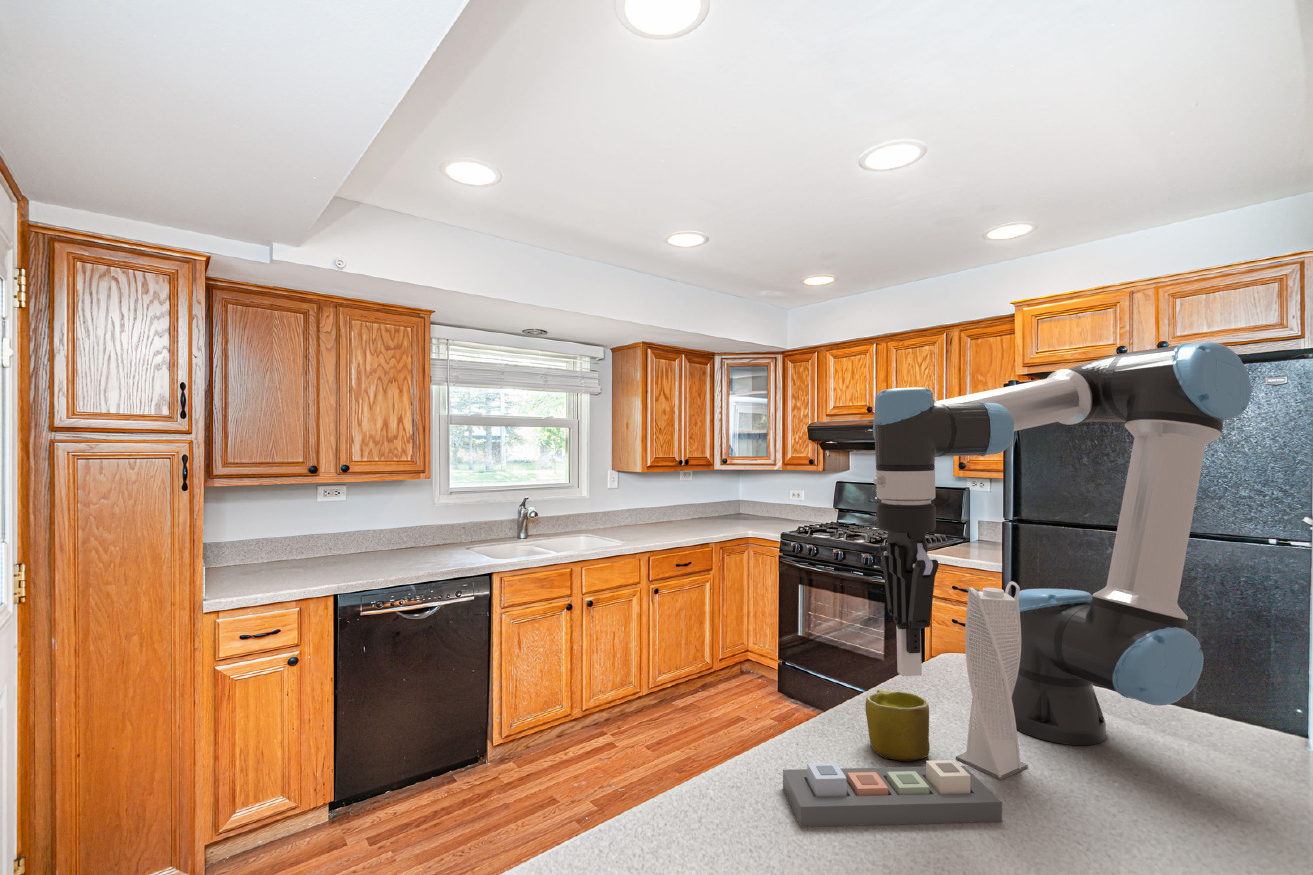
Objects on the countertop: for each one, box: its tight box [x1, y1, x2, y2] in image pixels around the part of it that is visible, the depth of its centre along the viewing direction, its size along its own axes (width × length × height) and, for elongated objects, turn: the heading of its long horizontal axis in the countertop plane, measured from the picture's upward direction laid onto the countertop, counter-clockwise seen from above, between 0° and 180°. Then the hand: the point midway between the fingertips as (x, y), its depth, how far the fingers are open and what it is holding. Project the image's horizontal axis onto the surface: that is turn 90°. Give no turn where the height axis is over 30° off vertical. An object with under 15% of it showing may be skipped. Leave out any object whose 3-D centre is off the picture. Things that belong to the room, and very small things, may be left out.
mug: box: [864, 688, 931, 762], centre depth 100 cm, size 12×10×10 cm
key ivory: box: [925, 759, 970, 794], centre depth 85 cm, size 4×4×3 cm
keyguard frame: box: [782, 765, 1003, 828], centre depth 84 cm, size 26×9×2 cm, turn 93°
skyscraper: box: [955, 580, 1029, 781], centre depth 94 cm, size 8×8×28 cm
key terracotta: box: [847, 772, 888, 796], centre depth 84 cm, size 4×4×3 cm
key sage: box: [887, 771, 929, 795], centre depth 84 cm, size 4×4×3 cm
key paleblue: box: [806, 762, 847, 797], centre depth 84 cm, size 4×4×3 cm
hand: (909, 673), depth 86 cm, fingers closed
